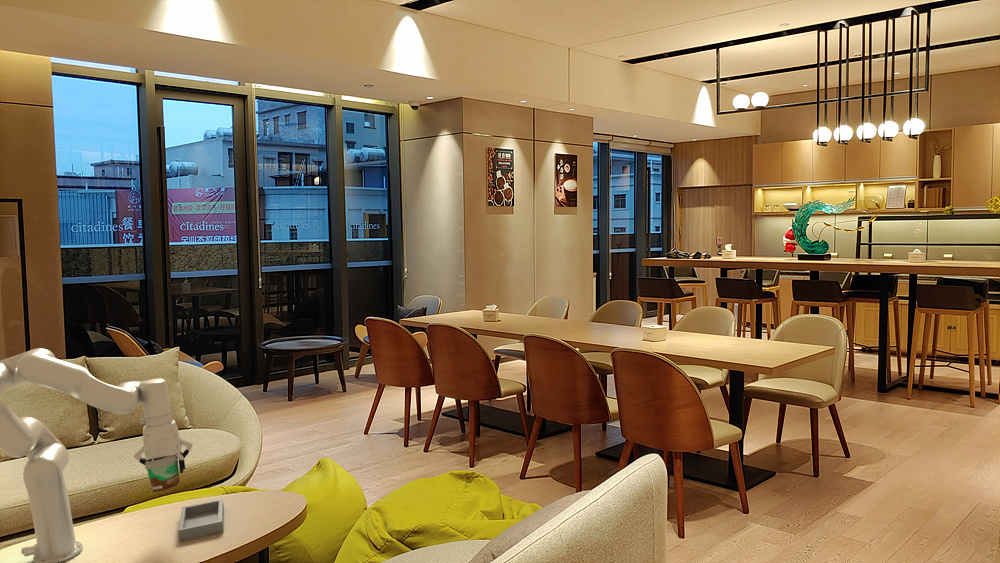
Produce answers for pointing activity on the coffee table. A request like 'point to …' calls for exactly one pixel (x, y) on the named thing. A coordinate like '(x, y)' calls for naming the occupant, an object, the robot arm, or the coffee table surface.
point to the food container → (163, 473)
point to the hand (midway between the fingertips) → (167, 474)
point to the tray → (201, 520)
